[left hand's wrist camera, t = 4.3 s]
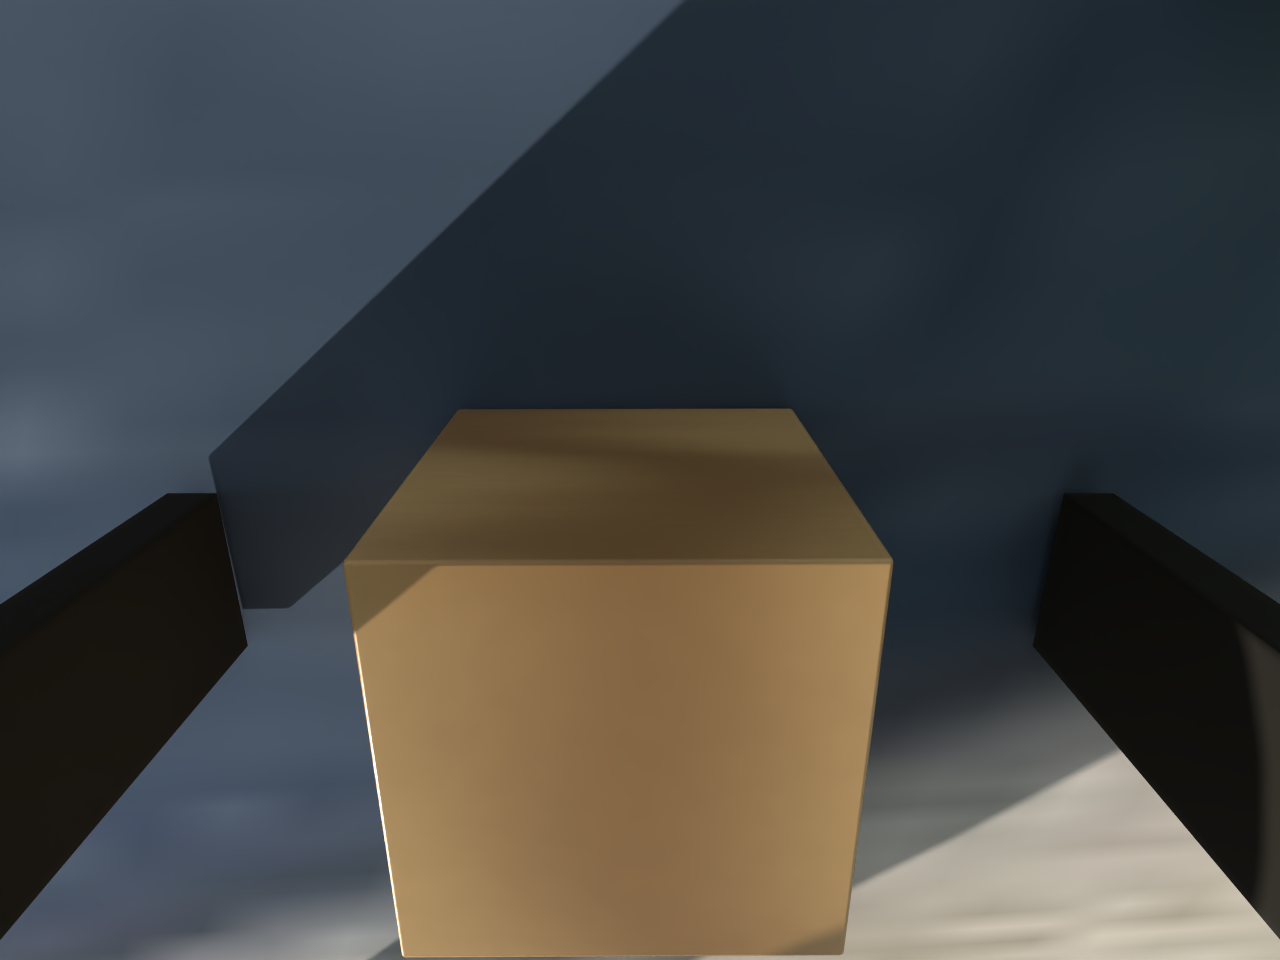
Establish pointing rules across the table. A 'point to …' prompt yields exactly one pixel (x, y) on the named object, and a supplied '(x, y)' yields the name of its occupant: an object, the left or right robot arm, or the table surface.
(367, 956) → the table surface
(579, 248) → the table surface
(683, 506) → the block
